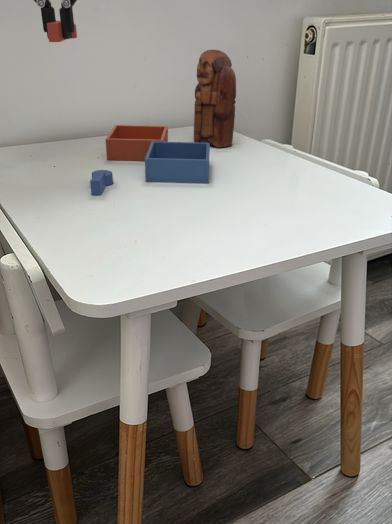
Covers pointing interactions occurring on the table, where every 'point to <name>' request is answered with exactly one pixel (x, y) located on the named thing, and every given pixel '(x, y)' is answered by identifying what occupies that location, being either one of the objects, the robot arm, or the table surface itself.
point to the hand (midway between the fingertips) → (60, 37)
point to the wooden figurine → (214, 99)
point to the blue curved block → (100, 181)
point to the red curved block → (58, 32)
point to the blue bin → (177, 162)
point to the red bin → (133, 141)
